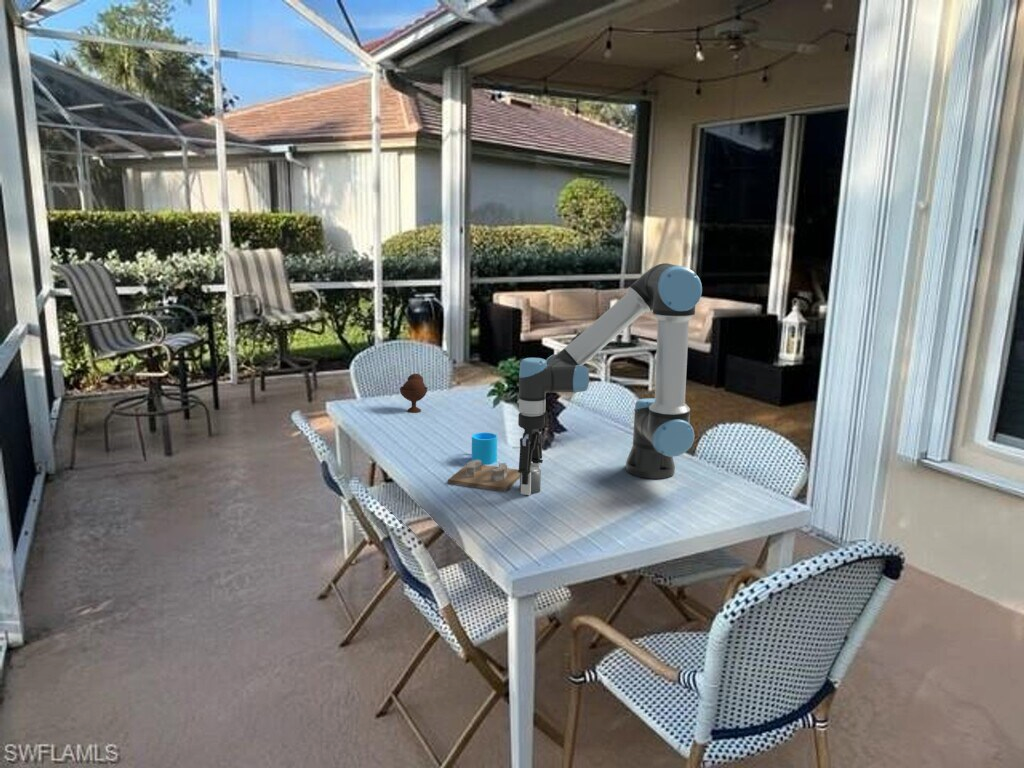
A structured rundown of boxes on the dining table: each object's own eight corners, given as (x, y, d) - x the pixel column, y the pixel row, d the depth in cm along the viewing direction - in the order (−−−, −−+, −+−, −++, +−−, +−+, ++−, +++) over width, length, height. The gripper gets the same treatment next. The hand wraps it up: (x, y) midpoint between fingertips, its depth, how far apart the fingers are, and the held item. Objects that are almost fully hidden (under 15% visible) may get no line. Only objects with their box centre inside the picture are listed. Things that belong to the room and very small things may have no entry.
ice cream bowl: (397, 408, 300) (397, 372, 297) (425, 406, 304) (425, 370, 300) (402, 415, 290) (401, 377, 287) (430, 413, 294) (430, 376, 290)
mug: (500, 462, 239) (501, 438, 237) (477, 465, 235) (477, 441, 233) (486, 451, 249) (486, 428, 247) (463, 454, 246) (463, 430, 244)
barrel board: (523, 474, 229) (523, 461, 228) (505, 491, 214) (506, 477, 213) (468, 466, 234) (468, 453, 233) (448, 483, 219) (448, 469, 218)
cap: (542, 488, 217) (543, 467, 216) (536, 495, 212) (537, 473, 210) (523, 485, 219) (523, 464, 218) (516, 492, 214) (517, 471, 212)
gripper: (530, 403, 221) (528, 476, 226) (507, 420, 202) (506, 499, 207) (554, 405, 219) (552, 479, 224) (533, 423, 200) (531, 503, 205)
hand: (530, 489), depth 215 cm, fingers open, 8 cm apart
